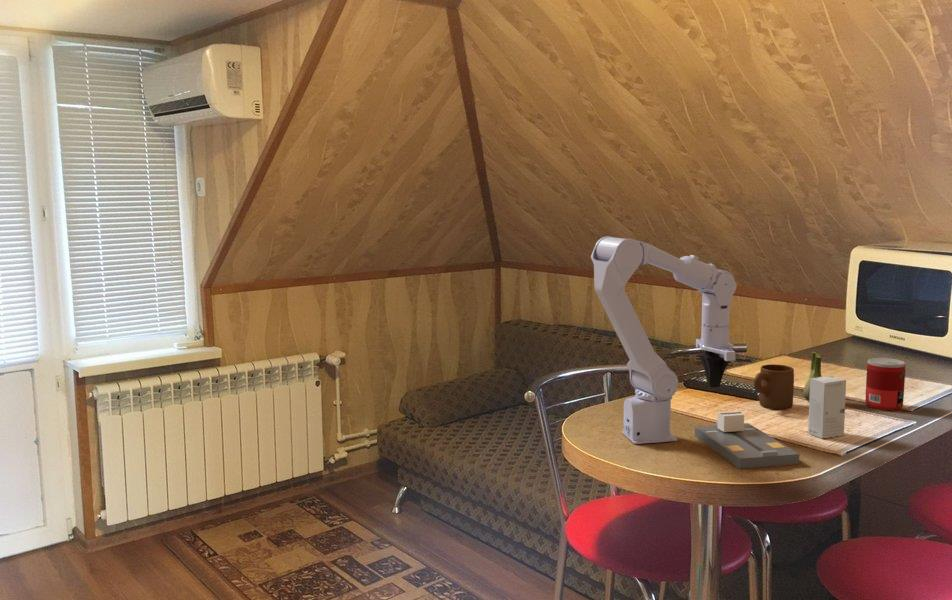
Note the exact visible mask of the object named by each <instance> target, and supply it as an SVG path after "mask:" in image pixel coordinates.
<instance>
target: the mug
mask: <svg viewBox="0 0 952 600" xmlns="http://www.w3.org/2000/svg"><path fill="white" fill-rule="evenodd" d="M753 386H754V390H755V391H756V392H757V393H759V394H758V395H759V396H758V402H759V405H760V406H761V407H762V408H764V409H769V410H775V411H785V410H789V409H791V408H793V404H794V390H795V389H794V387H795V369H794V367H792V366H789V365H785V364H776V363H775V364H773V363H772V364H771V363H770V364H763V365H762V366H760V372H758V373H757V374H756V375H755V376H754V379H753Z"/></svg>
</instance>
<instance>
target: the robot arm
mask: <svg viewBox="0 0 952 600" xmlns="http://www.w3.org/2000/svg"><path fill="white" fill-rule="evenodd" d="M590 259H591V262H592V264H593V273H594V274H593V280H594V281H593V282H594V283H593V285H594V286H593V287H594V288H593V289H594V291H595V293H596V295H597V298H598V300H599V301H600V304H601V305H602V307H603V310H604V312H605V314H606V315H607V317H608V319H609V321H610V324H611V325H612V327H613V329H614V331H615V333H616V336H617V338H618V339H619V341H620V343H621V345H622V347H623V350H624V351H625V353H626V355H627V357H628V360H629V361H628V362H627V364H626V368H627V369H628V371H629V381H630V384H631V386H632V387H633V388H634V393H635V396H634V395H633V396H632V397H627V398H625V400H624V402H623V418H622V419H623V420H622V421H623V426H622V427H623V430H622V431H621V433H622V434H623V435H624V436H625V437H626V438H627V439H629V440H630V441H631V442H632V443H633V444H635V445H641V444H652V443H654V444H655V443H666V442H667V443H668V442H677V441H678V438H677V437H676V436H675V435H673V433H671V421H672V420H671V416H672V415H671V413H672V412H671V411H672V410H671V409H672V405H671V404H672V400H673V396H674V395H675V394H676V392H677V390H678V388H679V379H678V375H677V374H676V373H675V372H674V371H673V370H671V369H670V368H669V367H668V365H667V363H666V362H665V360H664V359H662V358H661V357H660V356H659V355H658V354H657V353H656V352H655V350H654V347H653V345H652V344H651V342H650V340H649V338H648V335H647V333H646V332H645V330H644V328H643V325H642V322H641V320H640V319H639V317H638V315H637V313H636V311H635V308H634V306H633V305H632V302H631V301H630V299H629V296H628V295H627V293H626V290H625V287H626V284H627V283H628V281H629V280H630V278H631V277H633V275H634V274H635V272H636V271H637V269H638V268H639V266H640V265H641V266H642V265H643V266H645V265H646V264H649V265H650V266H651V265H652V266H654V267H657V268H659V269H662V270H664V271H668V272H669V273H672V275H673V279H674V280H675V281H676V282H677V283H681V284H684V285H685V286H688V287H691V288H693V289H695V290H697V291H698V292H699V293H700V294H701V295H702V296H701V301H702V302H701V328H700V329H701V338H696V339H695V348H697V349H701V350H703V351H704V353H698V358H699V361H700V362H701V364H702V366H703V369H704V374H705V378H706V383H707V386H708V387H709V388H710V389H711V388H720V386H721V383H722V380H723V377H724V373H725V371H726V369H727V366H728V364H729V363H730V362H732V361H734V362H735V361H736V351H734V350H733V349H734V347H735V345H734V344H732V343H730V319H731V318H730V317H731V315H730V314H731V313H730V312H731V303H732V302H733V295H734V294H735V292H736V291H737V288H738V287H737V286H738V283H737V282H736V281H735V277H734V276H733V274H732V272H731V271H728V270H723V269H718V268H716V265H715V264H714V263H705V262H703V261H700V260H699V256H698V255H697V256H696V255H694V254H690V255H683V256H681V257H680V258H678V257H677V256H674V255H672V254H671V253H669V252H666V251H665V250H662V249H660V248H658V247H656V246H654V245H652V244H650V243H647V242H645V241H641V240H640V241H639V240H636V239H634V238H629V237H628V238H623V237H622V238H621V237H614V236H611V235H608V236H605V235H604V236H603V237H601V238H599V239H598V240H597V241H596V243H595V246H594V247H593V250H592V253H591V255H590Z"/></svg>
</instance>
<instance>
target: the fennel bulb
mask: <svg viewBox="0 0 952 600" xmlns="http://www.w3.org/2000/svg"><path fill="white" fill-rule="evenodd" d="M810 360H811V361H810V362H811V364H810V372H809V376H808V378H807V381H806V383H805V384H804V387H803V390H802V395H803V398H804V399H805V400H807V402H809V399H810V379H811V378H818V377H823V376H822V368H821V367H822V355H821V354H818V352H815V351H812V352H811V359H810Z"/></svg>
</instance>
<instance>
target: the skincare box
mask: <svg viewBox="0 0 952 600" xmlns="http://www.w3.org/2000/svg"><path fill="white" fill-rule="evenodd" d="M846 391H847V380H846V379H844V378H840V377H837V376H832V375H829V376H822V377H818V378H811V379H810V399H809V401H808V402H809V403H808V404H809V405H808V426H807V427H808V428H807V433H808V435H811V436H813V435H814V436H813V437H815V436H817V437H816V438H818V437H820V438H819V439H821V438H825V439H831V438H830V437H832V438H837V437H836V436H838V437H842V436H841V435H843V436H844V435H845V417H846V416H845V414H846V413H845V412H846V396H847V395H846Z"/></svg>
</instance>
